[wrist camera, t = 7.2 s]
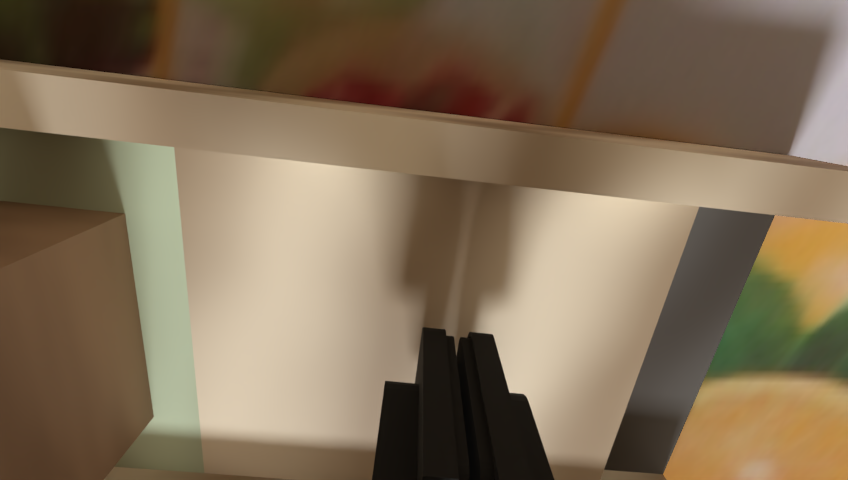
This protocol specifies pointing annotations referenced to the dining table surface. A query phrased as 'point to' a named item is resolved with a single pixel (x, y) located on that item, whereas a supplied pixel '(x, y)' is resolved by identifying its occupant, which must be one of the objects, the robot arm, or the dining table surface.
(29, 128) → the channel board
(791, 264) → the dining table surface
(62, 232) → the walnut block
